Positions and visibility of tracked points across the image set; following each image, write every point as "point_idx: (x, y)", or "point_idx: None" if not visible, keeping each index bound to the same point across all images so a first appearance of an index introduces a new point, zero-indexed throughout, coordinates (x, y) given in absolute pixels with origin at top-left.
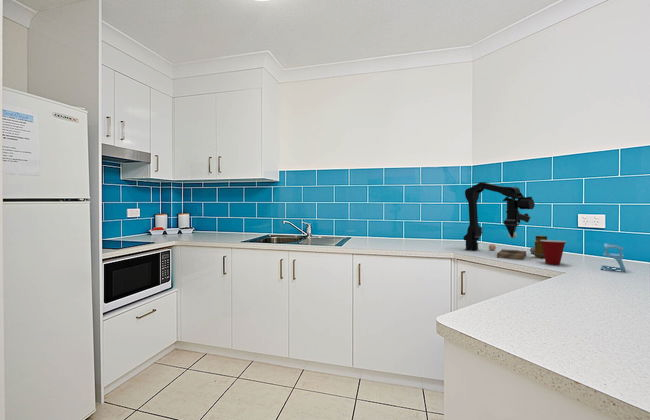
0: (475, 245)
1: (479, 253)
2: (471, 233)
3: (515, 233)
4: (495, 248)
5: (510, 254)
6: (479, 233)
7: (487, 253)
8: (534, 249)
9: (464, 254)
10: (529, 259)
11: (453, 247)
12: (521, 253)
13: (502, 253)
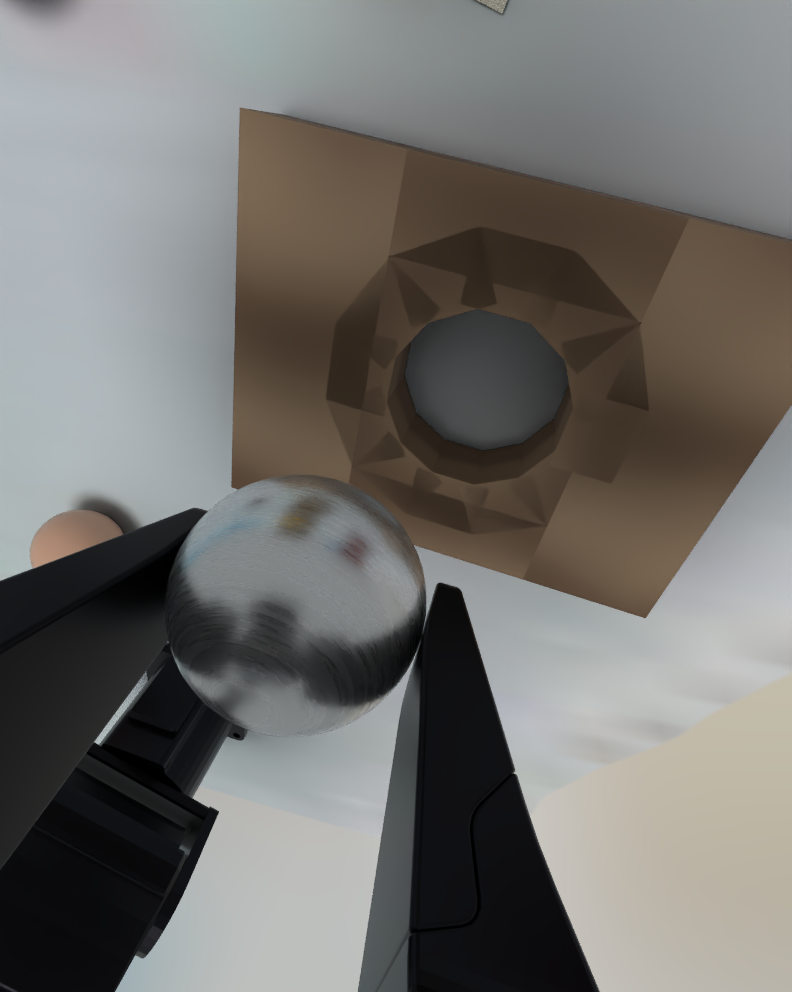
0: (196, 716)
1: None
2: (166, 921)
3: (352, 591)
4: (88, 515)
5: (745, 465)
6: (90, 855)
7: None
8: None
9: None
10: (758, 94)
11: None
12: (616, 256)
13: (678, 564)
